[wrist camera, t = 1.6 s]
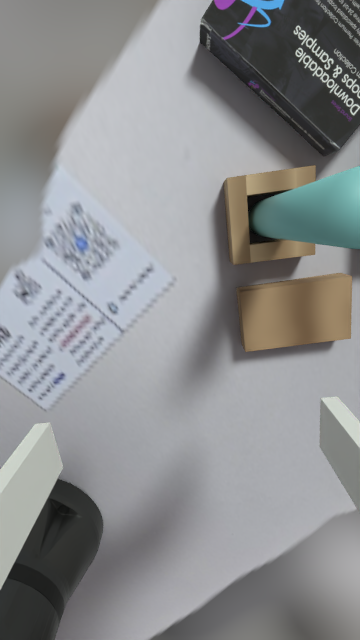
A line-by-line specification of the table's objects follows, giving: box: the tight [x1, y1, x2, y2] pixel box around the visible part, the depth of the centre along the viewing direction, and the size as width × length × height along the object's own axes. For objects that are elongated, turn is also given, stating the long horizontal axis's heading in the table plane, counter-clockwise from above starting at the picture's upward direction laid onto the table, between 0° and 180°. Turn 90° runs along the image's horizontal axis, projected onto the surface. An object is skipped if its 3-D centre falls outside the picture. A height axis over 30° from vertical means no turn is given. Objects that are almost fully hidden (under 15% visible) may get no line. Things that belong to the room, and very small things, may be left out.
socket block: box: [224, 165, 316, 265], centre depth 26 cm, size 7×7×2 cm
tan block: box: [236, 273, 352, 352], centre depth 29 cm, size 10×6×2 cm, turn 99°
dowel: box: [248, 166, 360, 249], centre depth 20 cm, size 3×3×16 cm
